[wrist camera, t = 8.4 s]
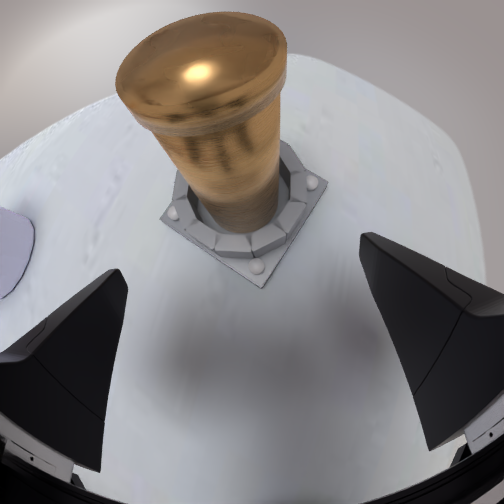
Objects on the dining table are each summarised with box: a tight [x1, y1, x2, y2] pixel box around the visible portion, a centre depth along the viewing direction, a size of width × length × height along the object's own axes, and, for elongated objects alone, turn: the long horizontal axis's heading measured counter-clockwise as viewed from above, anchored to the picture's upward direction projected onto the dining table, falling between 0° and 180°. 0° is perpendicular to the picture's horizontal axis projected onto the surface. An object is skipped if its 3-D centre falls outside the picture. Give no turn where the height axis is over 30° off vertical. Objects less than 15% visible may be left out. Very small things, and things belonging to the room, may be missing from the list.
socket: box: [160, 140, 328, 288], centre depth 18 cm, size 9×9×3 cm
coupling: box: [115, 12, 287, 234], centre depth 13 cm, size 5×5×13 cm
